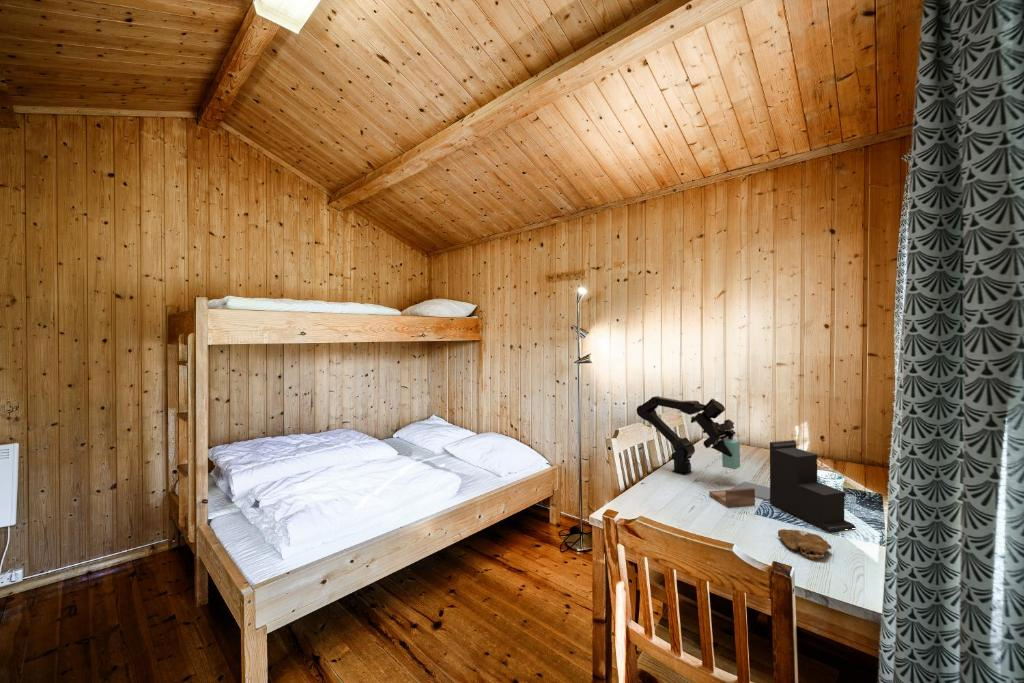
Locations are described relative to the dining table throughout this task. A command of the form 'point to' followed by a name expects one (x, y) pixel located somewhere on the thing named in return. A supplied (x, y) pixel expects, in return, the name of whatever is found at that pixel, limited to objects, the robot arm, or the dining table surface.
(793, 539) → the decorative rock
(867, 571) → the dining table surface
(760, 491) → the slate mat
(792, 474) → the bookend
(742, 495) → the walnut ledge
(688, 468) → the robot arm
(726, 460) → the teal block
